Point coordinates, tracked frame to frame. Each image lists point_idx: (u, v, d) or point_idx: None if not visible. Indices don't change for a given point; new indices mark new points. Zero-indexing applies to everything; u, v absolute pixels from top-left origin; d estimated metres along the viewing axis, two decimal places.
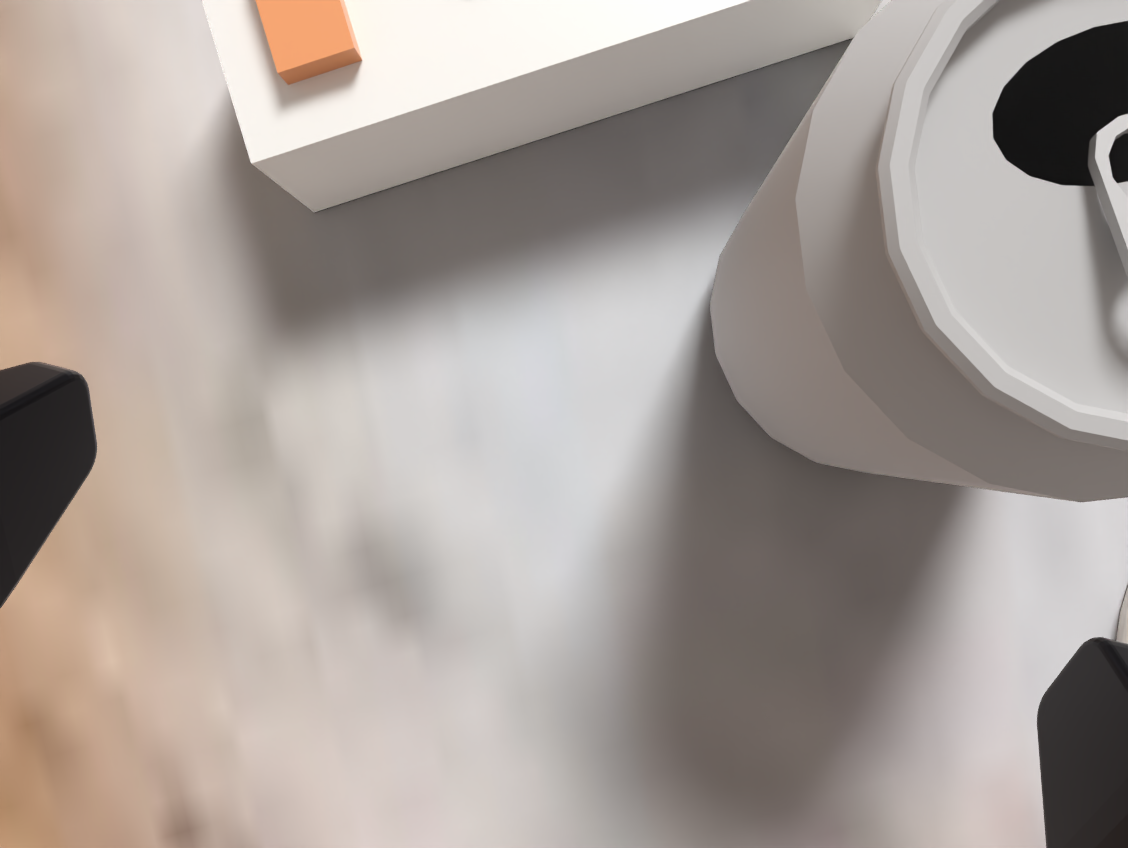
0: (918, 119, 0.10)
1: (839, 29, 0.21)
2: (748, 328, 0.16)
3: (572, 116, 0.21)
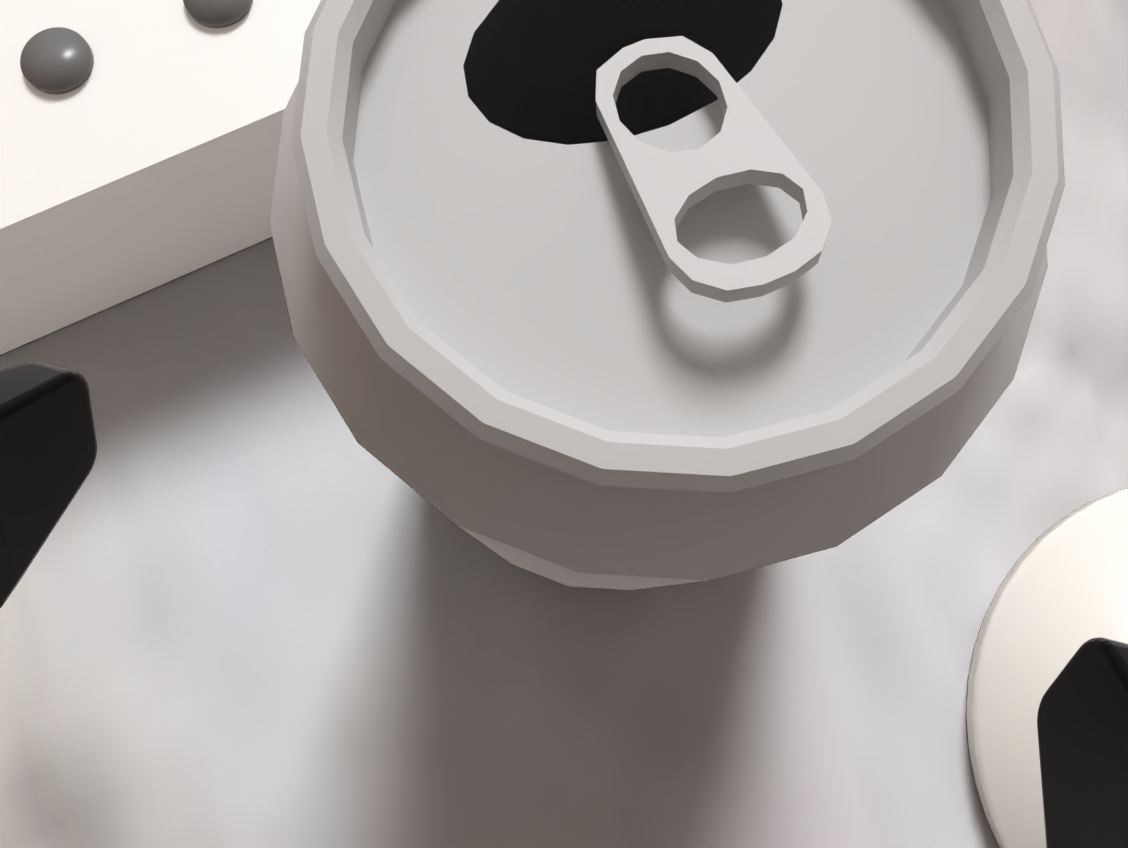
0: (335, 73, 0.07)
1: None
2: None
3: (241, 228, 0.19)
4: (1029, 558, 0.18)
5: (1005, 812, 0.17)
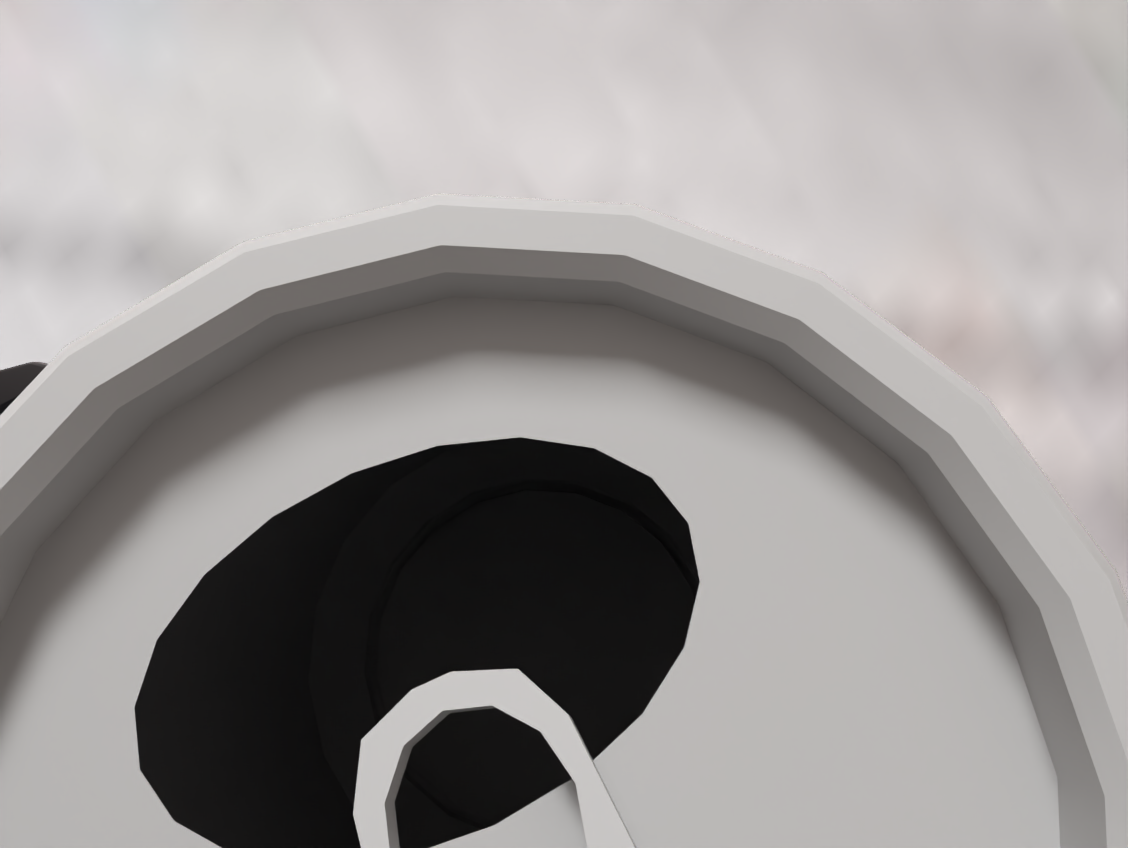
0: None
1: None
2: (207, 839, 0.10)
3: None
4: None
5: None
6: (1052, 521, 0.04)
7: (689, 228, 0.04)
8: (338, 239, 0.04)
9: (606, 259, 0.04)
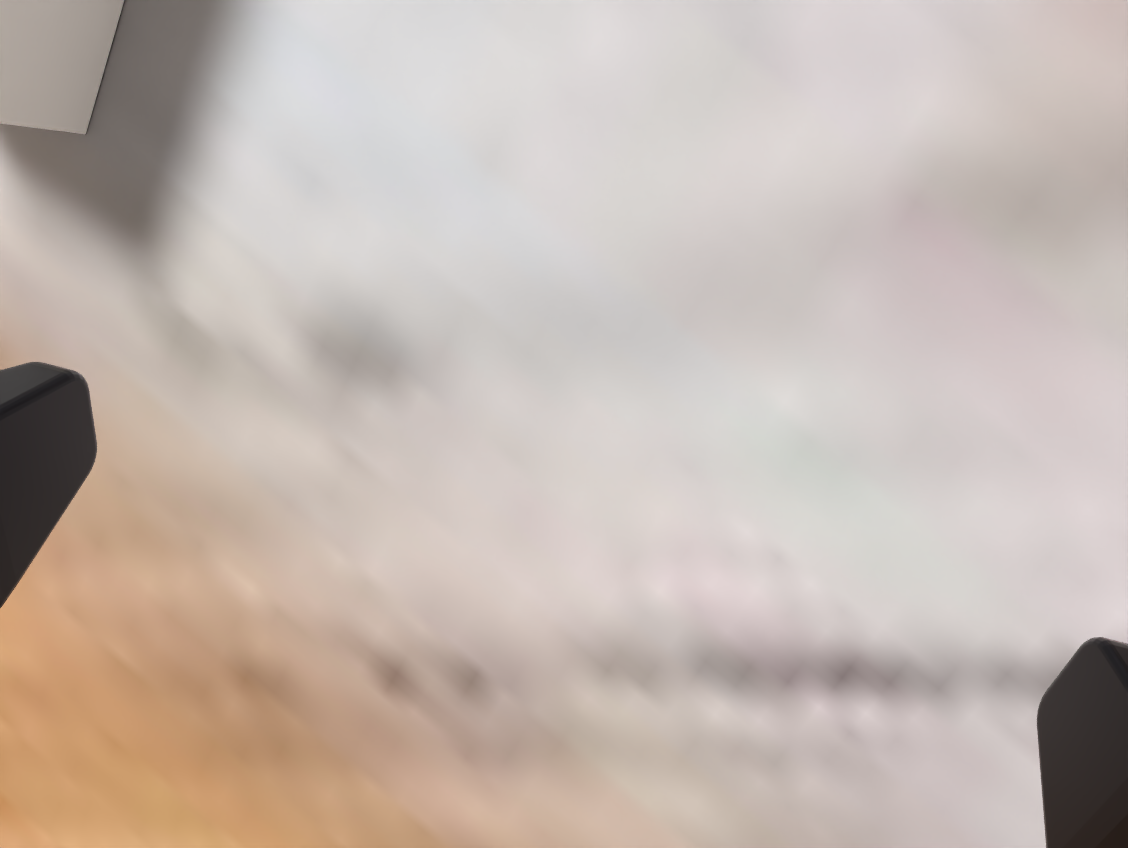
0: None
1: None
2: None
3: None
4: None
5: None
6: None
7: None
8: None
9: None
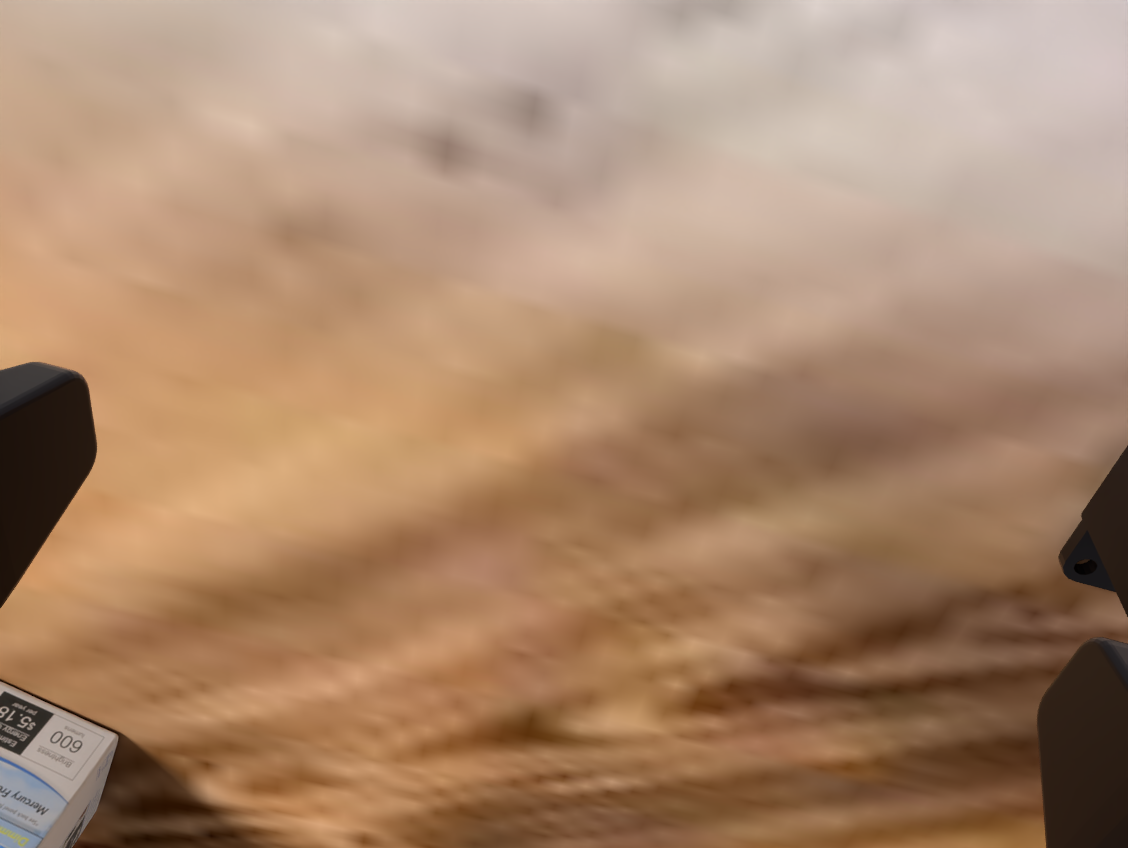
0: None
1: None
2: None
3: None
4: None
5: None
6: None
7: None
8: None
9: None
